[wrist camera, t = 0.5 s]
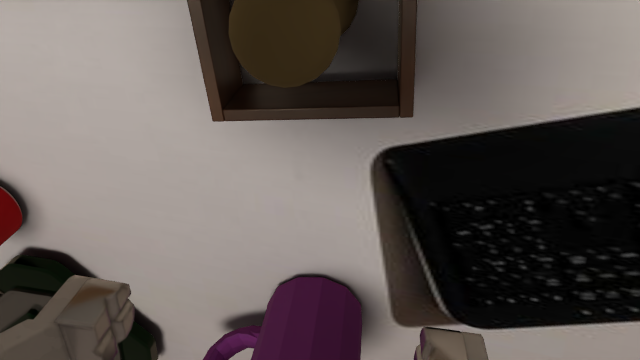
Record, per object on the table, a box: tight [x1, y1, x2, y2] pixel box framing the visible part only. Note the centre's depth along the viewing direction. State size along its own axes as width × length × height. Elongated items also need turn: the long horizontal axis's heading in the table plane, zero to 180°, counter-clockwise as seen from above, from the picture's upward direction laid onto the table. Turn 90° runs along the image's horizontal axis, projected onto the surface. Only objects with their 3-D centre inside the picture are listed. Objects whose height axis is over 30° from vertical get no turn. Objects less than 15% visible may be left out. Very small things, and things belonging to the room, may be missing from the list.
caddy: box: [187, 0, 417, 121], centre depth 26 cm, size 13×13×5 cm
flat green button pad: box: [0, 255, 158, 360], centre depth 47 cm, size 18×18×5 cm
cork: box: [229, 0, 359, 88], centre depth 24 cm, size 6×6×11 cm
